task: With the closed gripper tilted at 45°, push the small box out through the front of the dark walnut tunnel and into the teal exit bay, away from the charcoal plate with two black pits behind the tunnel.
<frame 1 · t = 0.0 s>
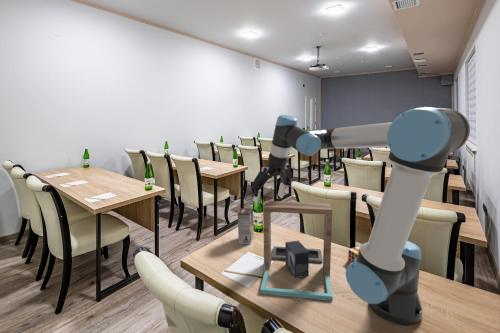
hand: (268, 199, 115), 28 cm above the table, tool tilted 20°, fingers open, 13 cm apart
small box: (296, 270, 111), on the table
tunnel: (296, 269, 111), on the table
pit plate: (296, 255, 122), on the table
coffee box: (246, 240, 139), on the table
rubik's cube: (357, 262, 116), on the table
exit bay: (295, 284, 101), on the table
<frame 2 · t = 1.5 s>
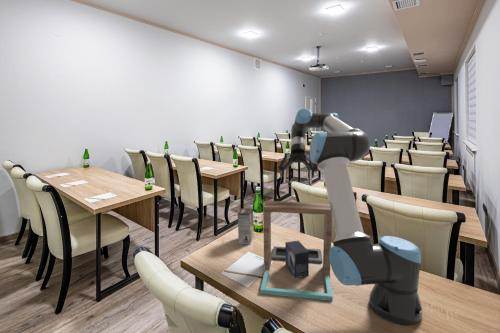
hand: (297, 182, 128), 32 cm above the table, tool tilted 45°, fingers open, 12 cm apart
nothing on the table moved.
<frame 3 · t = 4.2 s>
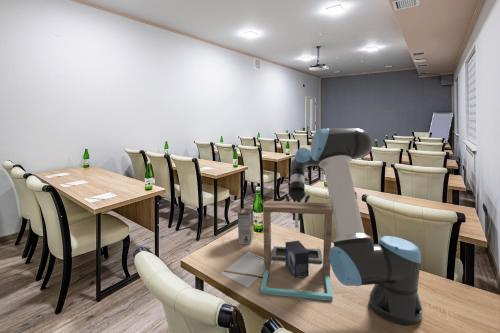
hand: (296, 226, 128), 11 cm above the table, tool tilted 45°, fingers closed
nothing on the table moved.
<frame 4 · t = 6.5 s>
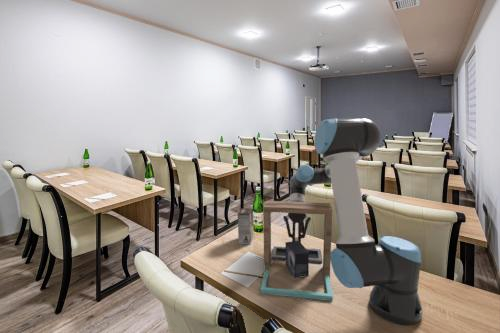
hand: (296, 252, 117), 4 cm above the table, tool tilted 45°, fingers closed
small box: (296, 270, 111), on the table, touching gripper
everything else where it was.
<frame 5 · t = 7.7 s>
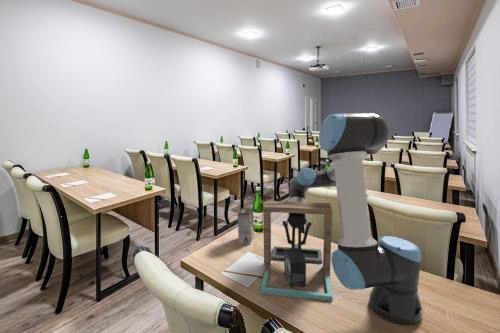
hand: (296, 260, 110), 4 cm above the table, tool tilted 45°, fingers closed
small box: (294, 279, 105), on the table, touching gripper
everything else where it was.
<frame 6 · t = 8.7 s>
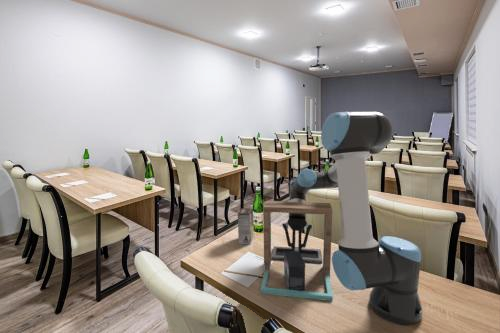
hand: (296, 263, 108), 4 cm above the table, tool tilted 45°, fingers closed
small box: (293, 283, 102), on the table
everything else where it was.
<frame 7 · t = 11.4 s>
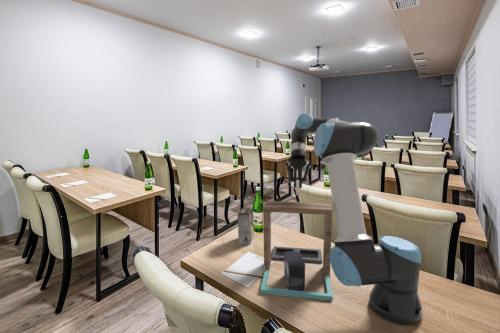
hand: (297, 193, 122), 28 cm above the table, tool tilted 45°, fingers closed
nothing on the table moved.
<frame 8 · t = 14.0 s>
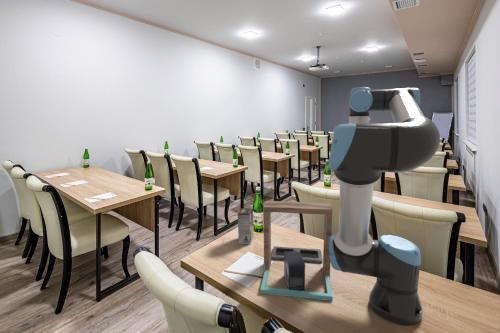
hand: (355, 183, 112), 34 cm above the table, tool pointing down, fingers closed
nothing on the table moved.
at the end: small box inside the target area (1.4 cm from its centre), on the table; small box tilted 0°; small box touching table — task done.
